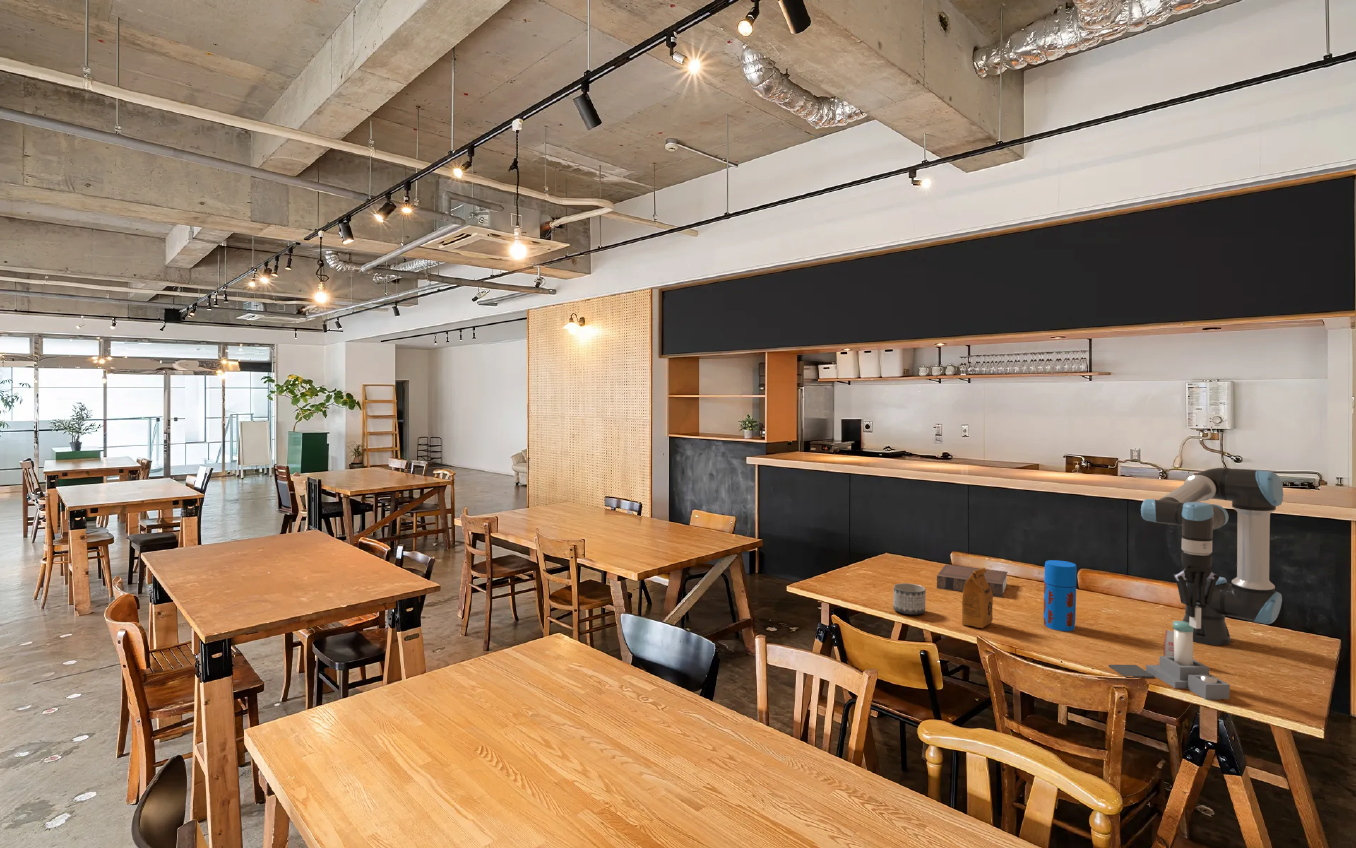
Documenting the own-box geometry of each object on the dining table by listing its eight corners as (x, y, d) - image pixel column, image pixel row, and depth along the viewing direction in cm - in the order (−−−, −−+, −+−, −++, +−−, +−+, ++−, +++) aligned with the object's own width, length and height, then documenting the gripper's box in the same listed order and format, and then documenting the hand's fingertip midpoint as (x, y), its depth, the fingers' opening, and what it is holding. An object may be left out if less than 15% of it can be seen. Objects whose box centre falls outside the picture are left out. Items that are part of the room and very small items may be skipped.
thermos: (1073, 624, 262) (1075, 561, 261) (1076, 633, 252) (1078, 568, 251) (1042, 620, 267) (1043, 559, 266) (1044, 628, 257) (1045, 565, 256)
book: (1002, 598, 297) (1002, 584, 297) (936, 589, 312) (936, 575, 311) (1007, 585, 318) (1007, 571, 318) (945, 577, 333) (945, 564, 332)
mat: (1108, 666, 221) (1108, 664, 221) (1135, 666, 221) (1135, 664, 221) (1126, 677, 212) (1126, 676, 212) (1154, 678, 212) (1154, 676, 212)
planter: (892, 614, 274) (892, 589, 273) (894, 605, 286) (894, 582, 285) (924, 618, 269) (925, 593, 269) (925, 609, 281) (925, 585, 280)
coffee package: (997, 624, 262) (998, 569, 261) (983, 631, 254) (984, 575, 253) (972, 617, 270) (973, 564, 269) (957, 624, 262) (958, 569, 261)
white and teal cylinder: (1169, 670, 213) (1168, 620, 213) (1185, 670, 213) (1185, 620, 213) (1181, 676, 208) (1180, 625, 208) (1198, 676, 208) (1197, 625, 208)
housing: (1146, 671, 218) (1146, 653, 217) (1189, 671, 217) (1189, 653, 217) (1193, 699, 197) (1194, 679, 197) (1241, 699, 197) (1241, 680, 197)
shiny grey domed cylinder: (1196, 690, 202) (1196, 674, 202) (1209, 690, 202) (1210, 674, 202) (1206, 695, 198) (1207, 679, 198) (1220, 696, 198) (1220, 679, 198)
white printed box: (1166, 657, 229) (1167, 628, 229) (1190, 663, 224) (1191, 634, 223) (1163, 660, 227) (1164, 631, 226) (1187, 666, 221) (1188, 636, 221)
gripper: (1185, 556, 201) (1183, 632, 203) (1227, 555, 201) (1225, 631, 203) (1166, 550, 209) (1165, 623, 210) (1207, 549, 209) (1206, 622, 210)
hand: (1195, 627), depth 206 cm, fingers closed
